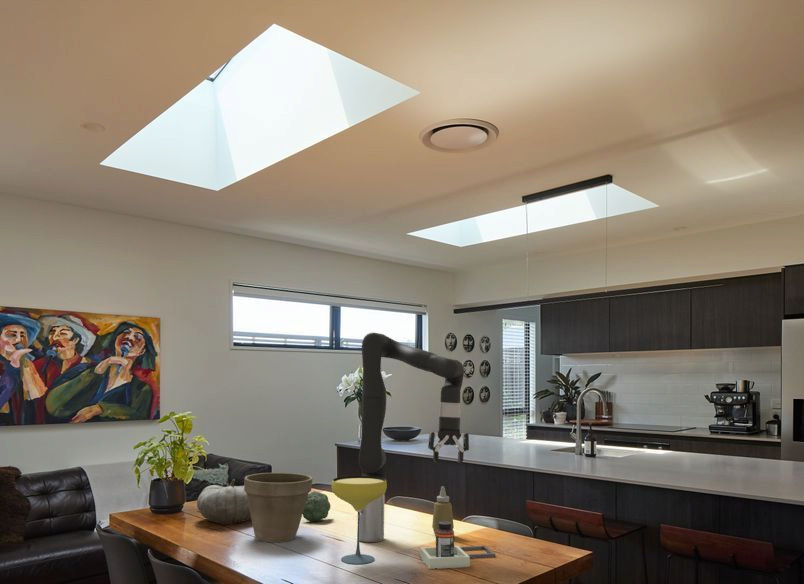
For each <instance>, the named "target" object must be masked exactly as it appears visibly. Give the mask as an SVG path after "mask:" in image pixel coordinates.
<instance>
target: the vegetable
mask: <svg viewBox="0 0 804 584" xmlns="http://www.w3.org/2000/svg"><path fill="white" fill-rule="evenodd" d="M331 507H332V505H331V503H330V502H329V497H328V495H327V494H325V493H322V492H320V491H315V490H314V491H310V492H309V493H308V497H307V500H306V504H305V507H304V511H303V514H302V517H303V519H305V520H306V521H308V522H309V523H313V522H315V521H319V522H321V521H322V520H323V519H327V517H328V515H329V512H330V509H331Z"/></svg>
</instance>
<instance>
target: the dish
mask: <svg viewBox="0 0 804 584" xmlns="http://www.w3.org/2000/svg"><path fill="white" fill-rule="evenodd" d="M460 547H461V546H459V545H454V557H436V546H431V547H430V546H428V547H424V546H423V547H419V557H420V558H419V559H421V560H422V561H423V563H424V564H425V566H426V567H427V568H428V569H429V570H433V569H434V570H435V568H437V569H453V568H454V569H455V568H470V567H471V558H470V556H468V555H467V554H468V553H467V552H465V550H464V551H463V550H462V549H461V548H460Z"/></svg>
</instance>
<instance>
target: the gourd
mask: <svg viewBox="0 0 804 584" xmlns="http://www.w3.org/2000/svg"><path fill="white" fill-rule="evenodd" d="M235 482H236V479H234V478H233V479H232V481H231V482H230V484H229V485H228V486H222V485H219V484H213V485H208V486H205V488H203V489H202V491H201V492H200V494H199V496H198V498H197V500H196V507H197V510H198V511H199V513H200V514H201V516H202V517H203V518H205V519H206V520H207V521H209V522H212V523H218V524H219V525H224V526H225V525H230V524H232V523H236V524H237V523H240V522H247V521H248V520H250V519H251V514H250V509H249V504H248V498H247V493H246V492H245V491H244V485H242V486H241V485H240V486H239V485H235ZM251 520H252V519H251Z"/></svg>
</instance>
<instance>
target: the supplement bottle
mask: <svg viewBox="0 0 804 584" xmlns="http://www.w3.org/2000/svg"><path fill="white" fill-rule="evenodd" d="M454 546H455V531H454V529H453V530H452V529H451V522H447V521H441V522H439V528H438V529H437V530H436V536H435V547H436V557H454Z"/></svg>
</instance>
